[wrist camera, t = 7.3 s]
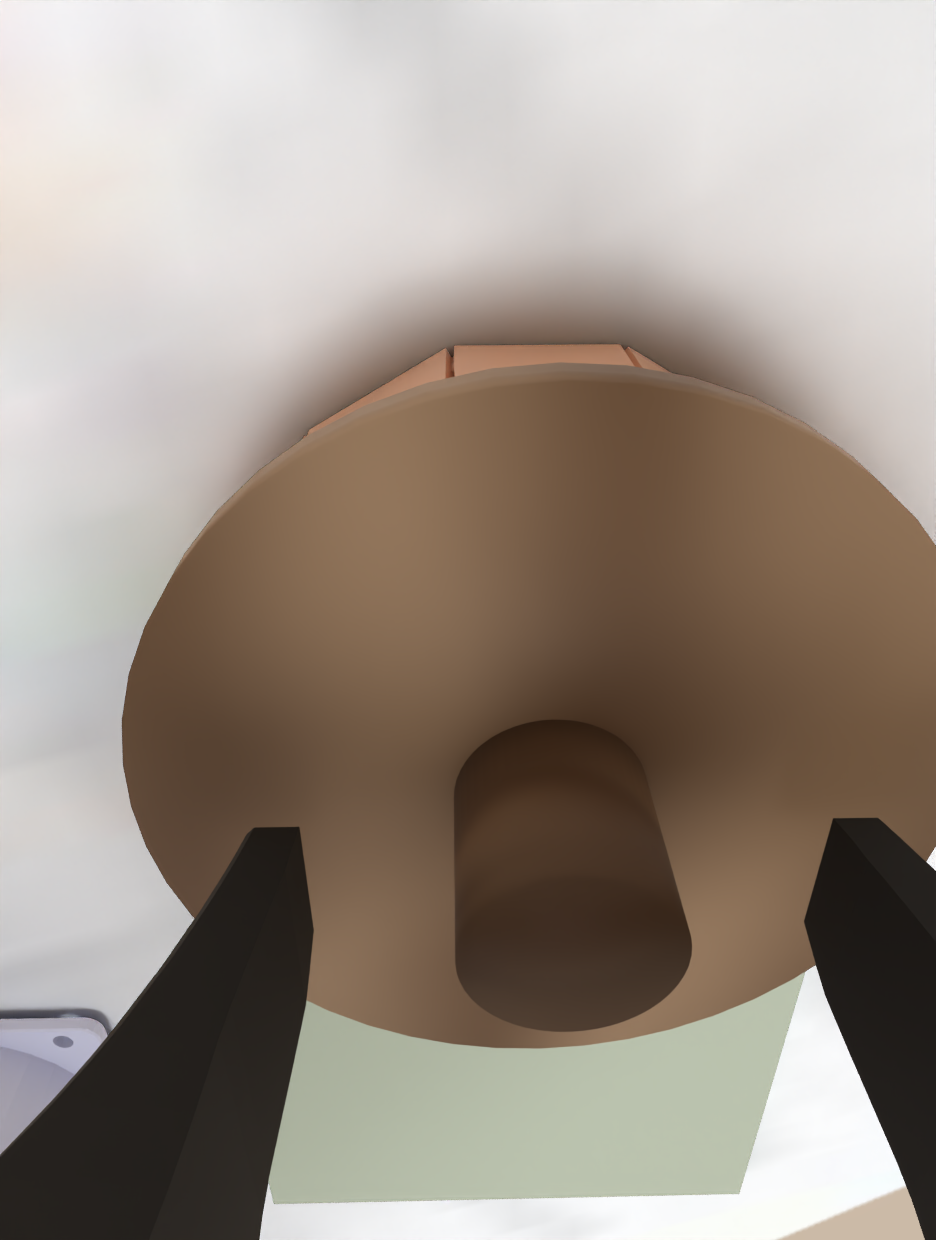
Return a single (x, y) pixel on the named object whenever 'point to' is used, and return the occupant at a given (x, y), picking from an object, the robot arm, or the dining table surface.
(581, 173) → the dining table surface
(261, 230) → the dining table surface
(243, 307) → the dining table surface
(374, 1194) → the rubber mat
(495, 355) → the terracotta bowl
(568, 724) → the walnut lid
